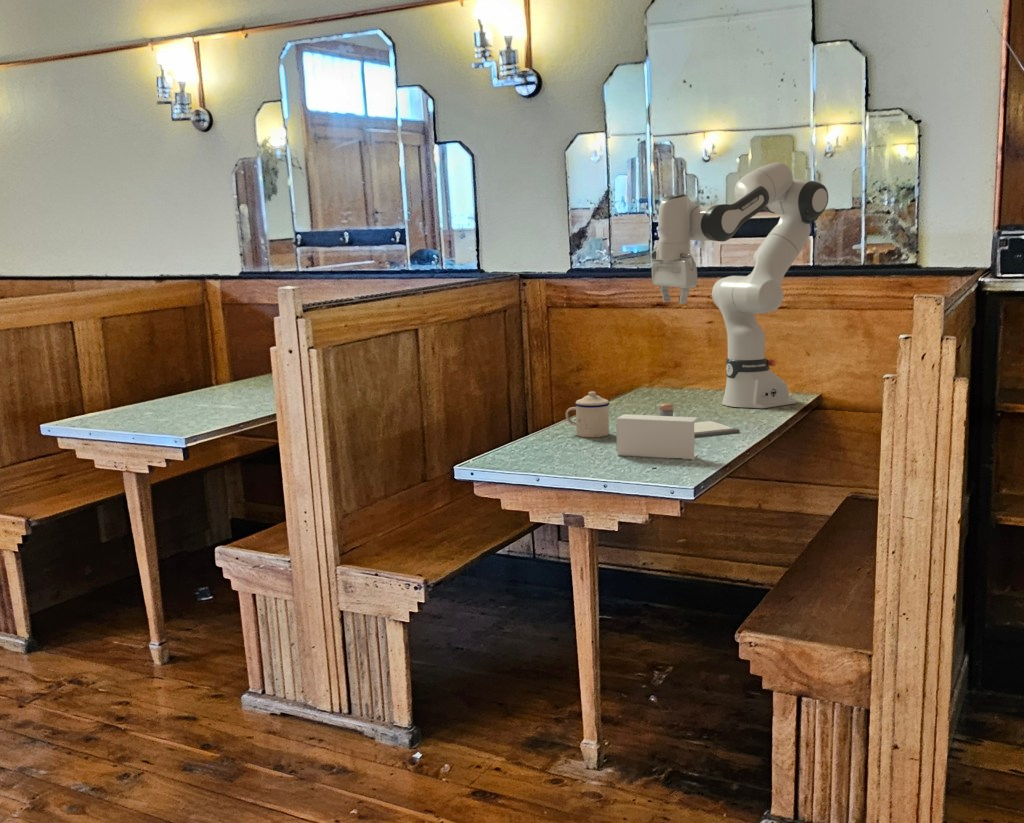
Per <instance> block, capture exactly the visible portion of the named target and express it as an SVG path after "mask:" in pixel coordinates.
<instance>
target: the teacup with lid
mask: <svg viewBox="0 0 1024 823" xmlns="http://www.w3.org/2000/svg"><path fill="white" fill-rule="evenodd" d="M587 394H588V395H585V396H584V397H582V398H581V399H580V398H579V399H577V400H576V401H575V403H574V404H575V406H572V407H569V408H568V409H567V410H566V411H565V419H566V421H567V422H568V424H570V425H571V426H575V427H576V435H577V436H578V437H582V438H589V439H590V438H592V439H594V438H604V437H606V436H609V434H610V425H609V422H610V418H609V417H610V415H609V414H610V413H609V412H610V410H609V409H610V407H609V405H610V402H609V400H608V399H606V398H604V397H601V396H600V395H598V394H597V392H596V391H589V392H588V393H587ZM571 411H575V413H576V415H575V416H576V421H572V420H571V418H570V412H571Z"/></svg>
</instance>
